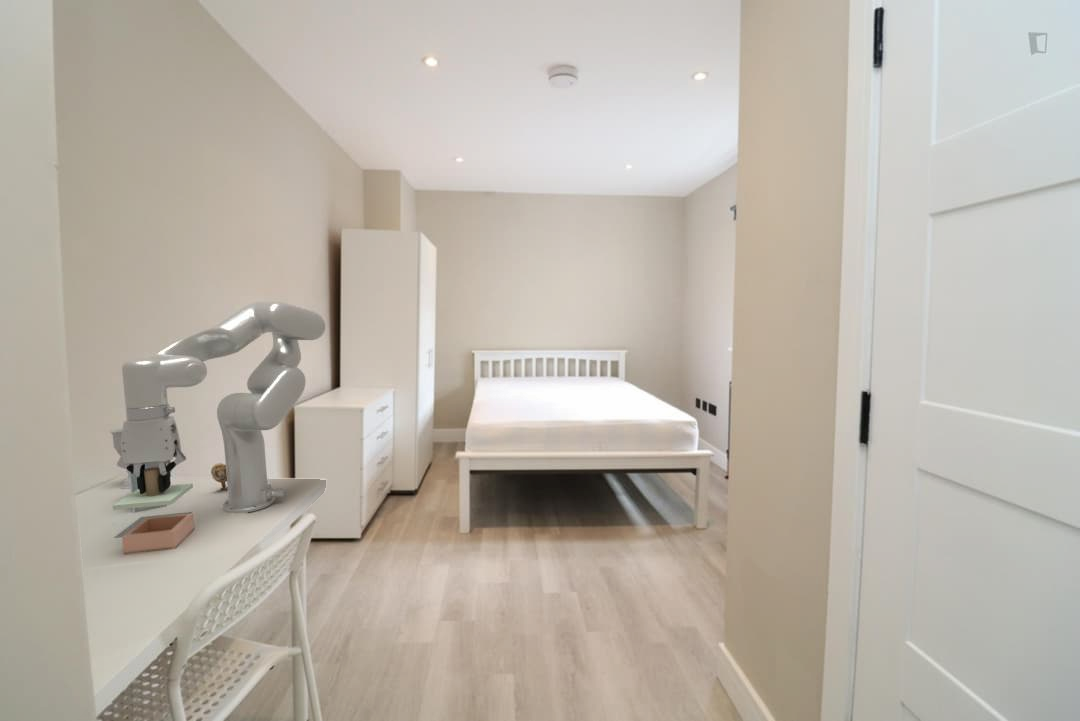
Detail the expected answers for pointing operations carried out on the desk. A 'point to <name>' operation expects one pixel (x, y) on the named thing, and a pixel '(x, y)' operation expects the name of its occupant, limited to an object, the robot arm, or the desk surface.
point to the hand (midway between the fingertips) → (154, 490)
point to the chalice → (117, 445)
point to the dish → (158, 533)
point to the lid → (153, 493)
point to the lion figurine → (220, 474)
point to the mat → (141, 521)
